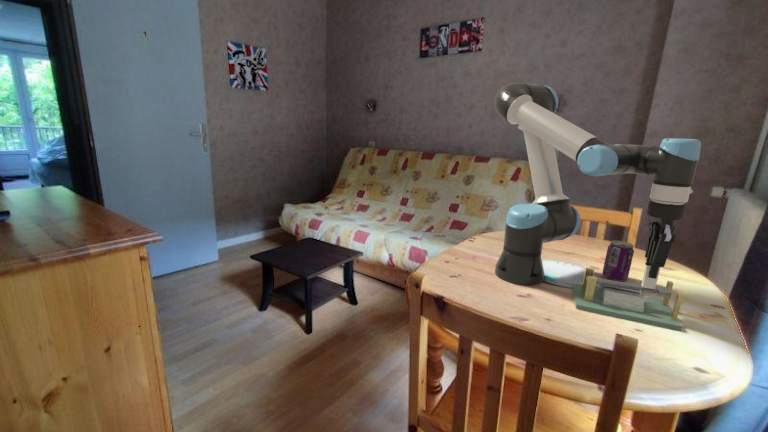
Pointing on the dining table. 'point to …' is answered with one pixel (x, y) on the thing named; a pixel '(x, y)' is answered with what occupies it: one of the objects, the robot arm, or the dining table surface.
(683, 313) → the dining table surface
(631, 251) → the beverage can
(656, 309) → the socket board
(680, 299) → the posts
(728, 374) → the dining table surface
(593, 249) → the dining table surface
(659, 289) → the strap
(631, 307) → the block
